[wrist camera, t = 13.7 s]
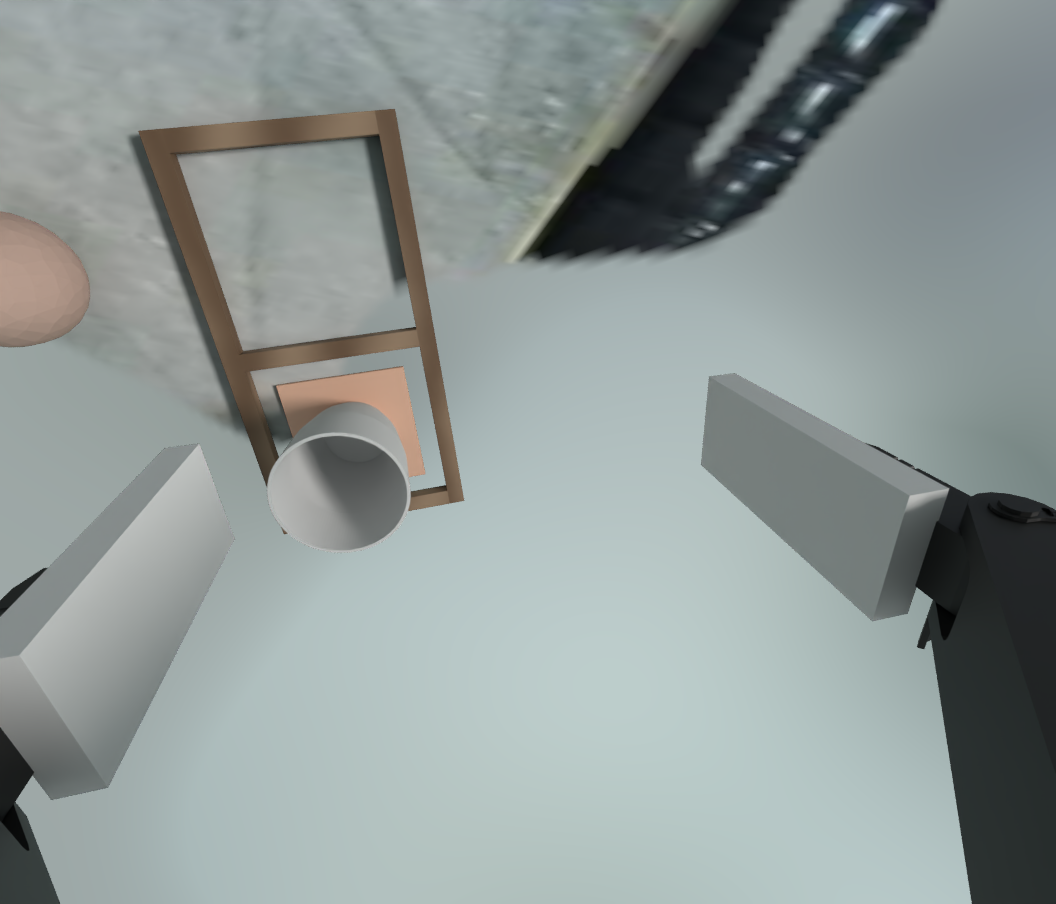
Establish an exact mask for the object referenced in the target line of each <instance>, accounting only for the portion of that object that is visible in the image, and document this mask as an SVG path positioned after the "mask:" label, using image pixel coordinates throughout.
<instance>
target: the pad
mask: <svg viewBox="0 0 1056 904" xmlns="http://www.w3.org/2000/svg"><path fill="white" fill-rule="evenodd" d="M276 387H277V390H278V393H279V396H280V399H281V402H282V406H283V409H284V412H285V415H286V418H287V421H288V424H289V427H290V430H291V434H292V437H293V438H294V436H295V435H296V434H297V432H298V431H299V430H300V429H301V428H302V427H303V426H305V425H306V424H307V423H308V422H309V421H311V420H312V419H313V418H314V417H316V416H317V415H318V414H319V413H321V412H322V411H324V410H325V409H327V408H329V407H331V406H334V405H338V404H342V403H347V402H363V403H366V404H369V405H371V406H373V407H375V408H377V409H378V410H379V411H380V412H382V413H383V414H384V415H385V416H386V417H387V418H388V419H389V420H390V421H391V422H392V424H393V425H394V427H395V428H396V430H397V433H398V435H399V438H400V440H401V443H402V445H403V448H404V450H405V453H406V458H407V465H408V473H409V477H412V476H418V475H423V474H425V469H424V464H423V459H422V455H421V450H420V445H419V440H418V435H417V430H416V426H415V421H414V416H413V411H412V406H411V402H410V397H409V393H408V387H407V383H406V378H405V373H404V368H403V366H401V367H393V368H387V369H381V370H373V371H367V372H360V373H353V374H347V375H340V376H333V377H327V378H320V379H313V380H307V381H300V382H293V383H287V384H280V385H277V386H276Z"/></svg>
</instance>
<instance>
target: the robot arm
mask: <svg viewBox="0 0 1056 904" xmlns="http://www.w3.org/2000/svg"><path fill="white" fill-rule="evenodd" d="M701 465H702V466H703V467H704V468H705V469H706V470H708V472H709V473H711V474H712V475H713V476H714V477H715V478H716V479H717V480H718V481H719V482H720V483H721V484H723V485H724V486H725V487H726V488H727V489H728V490H729V491H730V492H731V493H732V494H734V495H735V496H736V497H737V498H738V499H739V500H740V501H741V502H742V503H743V504H744V505H746V506H747V507H748V508H749V509H750V510H751V511H752V512H754V514H755V515H757V516H758V517H759V518H760V519H761V520H762V521H763V522H764V523H765V524H766V525H767V526H769V527H770V528H771V529H772V530H773V531H774V532H775V533H776V534H777V535H778V536H780V537H781V538H782V539H783V540H784V541H785V542H786V543H787V544H788V545H789V546H791V547H792V548H793V549H794V550H795V551H796V552H797V553H798V554H799V555H800V556H801V557H802V558H804V559H805V560H806V561H807V562H808V563H809V564H810V565H811V566H812V567H813V568H815V569H816V570H817V571H818V572H819V573H820V574H821V575H822V576H823V577H824V578H826V579H827V580H828V581H829V582H830V583H831V584H832V585H833V586H834V587H836V589H838V590H839V591H840V592H841V593H842V594H843V595H844V596H845V597H846V598H847V599H849V600H850V601H851V602H852V603H853V604H854V605H855V606H856V607H857V608H858V609H859V610H861V611H862V612H863V613H864V614H865V615H866V616H867V617H868V618H869V619H870V620H872V621H876V620H880V619H885V618H890V617H894V616H899V615H903V614H908V611H909V608H910V605H911V602H912V599H913V596H914V593H915V590H916V587H917V588H918V589H920V590H921V591H923V592H924V593H925V594H926V595H928V596H929V597H930V598H931V599H933V601H932V604H931V607H930V610H929V612H928V615H927V618H926V621H925V624H924V627H923V629H922V632H921V635H920V638H919V641H918V645H917V647H918V648H921V649H924V648H925V645H926V642H927V641H930V640H931V641H932V648H933V654H934V660H935V667H936V673H937V680H938V687H939V693H940V699H941V706H942V712H943V718H944V725H945V732H946V738H947V745H948V751H949V758H950V764H951V771H952V777H953V784H954V790H955V797H956V803H957V810H958V816H959V823H960V828H961V836H962V842H963V848H964V855H965V862H966V867H967V875H968V881H969V887H970V894H971V900H972V904H1056V510H1054V509H1053V508H1050V507H1049V506H1047V505H1045V504H1042V503H1040V502H1037V501H1034V500H1031V499H1028V498H1025V497H1020V496H1016V495H1011V494H1005V493H993V492H990V493H979V494H976V495H974V496H972V497H971V496H969V495H967V494H966V493H964V492H962V491H960V490H958V489H956V488H954V487H952V486H950V485H948V484H947V483H944V482H943V481H941V480H939V479H937V478H935V477H933V476H932V475H930V474H928V473H926V472H924V471H922V470H920V469H915V468H914V466H913V465H911V464H909V463H907V462H905V461H903V460H898V457H896V456H894V455H892V454H890V453H888V452H886V451H884V450H883V449H881V448H879V447H876V446H873V445H870V444H867V443H864V442H862V441H860V440H858V439H856V438H854V437H852V436H850V435H849V434H847V433H845V432H843V431H841V430H839V429H837V428H836V427H834V426H832V425H830V424H828V423H826V422H824V421H822V420H821V419H819V418H817V417H815V416H813V415H811V414H809V413H808V412H806V411H804V410H802V409H800V408H798V407H797V406H795V405H793V404H791V403H789V402H787V401H785V400H784V399H782V398H780V397H778V396H776V395H774V394H772V393H771V392H769V391H767V390H765V389H763V388H761V387H759V386H757V385H756V384H754V383H752V382H750V381H748V380H746V379H744V378H742V377H741V376H739V375H737V374H735V373H733V374H725V375H717V376H710V377H709V383H708V394H707V405H706V416H705V426H704V438H703V448H702V460H701ZM234 539H235V538H234V535H233V533H232V530H231V527H230V524H229V522H228V519H227V516H226V514H225V511H224V508H223V506H222V503H221V500H220V498H219V495H218V492H217V490H216V487H215V484H214V481H213V479H212V476H211V473H210V471H209V468H208V465H207V463H206V460H205V457H204V455H203V452H202V449H201V447H200V444H192V445H184V446H177V447H169V448H164V449H163V450H162V451H161V452H160V453H159V454H158V456H157V457H156V458H155V459H154V460H153V461H152V462H151V463H150V464H149V465H148V466H147V467H146V468H145V469H144V470H143V471H142V472H141V473H140V474H139V475H138V476H137V477H136V478H135V479H134V480H133V481H132V482H131V483H130V484H129V485H128V486H127V487H126V488H125V489H124V490H123V491H122V493H120V494H119V496H118V497H117V498H116V499H115V500H114V501H113V502H112V503H111V504H110V505H109V506H108V507H107V508H106V509H105V510H104V511H103V512H102V513H101V514H100V515H99V516H98V517H97V518H96V519H95V520H94V521H93V522H92V523H91V524H90V525H89V526H88V527H87V529H85V530H84V531H83V532H82V533H81V534H80V536H79V537H78V538H77V539H76V540H75V541H74V542H73V543H72V544H71V545H70V546H69V547H68V548H67V549H66V550H65V551H64V552H63V553H62V554H61V555H60V556H59V557H58V558H57V559H56V560H55V561H54V562H53V563H52V564H51V565H50V566H49V567H48V568H43V569H42V570H40V571H39V572H37V573H36V574H34V575H33V576H31V577H29V578H28V579H27V580H25V581H23V582H22V583H20V584H19V585H17V586H16V587H14V588H13V589H11V591H10V592H9V593H7V595H5V596H4V597H3V598H2V599H1V600H0V904H60V902H59V899H58V897H57V894H56V891H55V889H54V886H53V884H52V881H51V878H50V876H49V873H48V871H47V868H46V865H45V863H44V860H43V858H42V855H41V852H40V850H39V847H38V845H37V842H36V839H35V837H34V834H33V832H32V829H31V827H30V824H29V821H28V819H27V816H26V815H25V814H24V812H23V811H22V810H21V809H20V807H19V806H18V805H17V804H16V802H15V801H16V799H17V798H18V796H19V795H20V793H21V792H22V790H23V789H24V787H25V786H26V784H27V783H28V781H29V779H30V778H31V776H32V775H33V776H34V778H35V779H36V780H37V782H38V783H39V784H40V786H41V787H42V788H43V790H44V791H45V792H46V794H47V795H48V796H49V798H50V799H51V800H53V799H59V798H63V797H68V796H72V795H77V794H82V793H86V792H91V791H95V790H100V789H105V788H108V787H109V785H110V783H111V781H112V779H113V777H114V775H115V773H116V771H117V769H118V767H119V765H120V763H121V761H122V759H123V757H124V755H125V753H126V751H127V749H128V747H129V745H130V743H131V741H132V739H133V738H134V736H135V734H136V731H137V729H138V728H139V726H140V724H141V722H142V720H143V718H144V716H145V714H146V712H147V710H148V708H149V706H150V704H151V702H152V700H153V698H154V696H155V694H156V692H157V690H158V688H159V686H160V684H161V683H162V681H163V679H164V677H165V674H166V672H167V671H168V669H169V667H170V665H171V663H172V661H173V659H174V657H175V655H176V653H177V651H178V649H179V647H180V645H181V643H182V641H183V639H184V637H185V635H186V633H187V631H188V630H189V628H190V625H191V624H192V622H193V620H194V617H195V616H196V614H197V612H198V610H199V608H200V606H201V604H202V602H203V600H204V598H205V596H206V594H207V592H208V590H209V588H210V586H211V584H212V582H213V580H214V578H215V577H216V574H217V573H218V570H219V569H220V567H221V565H222V563H223V561H224V559H225V557H226V555H227V553H228V551H229V549H230V547H231V545H232V543H233V541H234Z"/></svg>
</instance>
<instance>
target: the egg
mask: <svg viewBox="0 0 1056 904" xmlns="http://www.w3.org/2000/svg"><path fill="white" fill-rule="evenodd" d="M89 300H90V286H89V280H88V276H87V273H86V271H85V269H84V267H83V265H82V263H81V260H80V259H79V258H78V257H77V255H76V254H75V253H74V252H73V250H72V249H71V248H70V247H69V246H68V245H67V244H66V243H64V242H63V241H62V240H61V239H60V238H59V237H58V236H56V235H55V234H54V233H53V232H51V231H49V230H48V229H46V228H44V227H43V226H41V225H39V224H38V223H36V222H33V221H31V220H28V219H25V218H23V217H20V216H17V215H14V214H11V213H6V212H0V346H2V347H25V346H32V345H36V344H41V343H45V342H48V341H51V340H54V339H57V338H59V337H61V336H63V335H64V334H66V333H68V332H69V331H70V330H72V329H73V328H74V327H75V326H76V325H77V324H78V323H79V322H80V321H81V320H82V318H83V316H84V314H85V312H86V310H87V308H88V306H89Z"/></svg>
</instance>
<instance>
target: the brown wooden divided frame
mask: <svg viewBox="0 0 1056 904" xmlns="http://www.w3.org/2000/svg"><path fill="white" fill-rule="evenodd" d="M138 132H139V134H140V137H141V140H142V143H143V145H144V148H145V151H146V154H147V157H148V159H149V162H150V165H151V168H152V170H153V173H154V176H155V179H156V181H157V184H158V187H159V190H160V193H161V195H162V198H163V201H164V204H165V206H166V209H167V212H168V215H169V217H170V220H171V223H172V226H173V229H174V231H175V234H176V237H177V240H178V242H179V245H180V248H181V251H182V253H183V256H184V259H185V262H186V265H187V267H188V270H189V273H190V276H191V278H192V281H193V284H194V287H195V289H196V292H197V295H198V298H199V301H200V303H201V306H202V309H203V312H204V314H205V317H206V320H207V323H208V325H209V328H210V331H211V334H212V337H213V339H214V342H215V345H216V348H217V350H218V353H219V356H220V359H221V361H222V364H223V367H224V370H225V373H226V375H227V378H228V381H229V384H230V386H231V389H232V392H233V395H234V397H235V400H236V403H237V406H238V409H239V411H240V414H241V417H242V420H243V422H244V425H245V428H246V431H247V433H248V436H249V439H250V442H251V445H252V447H253V450H254V453H255V455H256V458H257V461H258V464H259V467H260V469H261V472H262V475H263V477H264V480H265V483H266V486H267V484H268V479H269V475H270V472H271V470H272V468H273V466H274V464H275V463H276V461H277V460H278V458H279V456H278V453H277V450H276V447H275V444H274V441H273V438H272V435H271V432H270V429H269V427H268V424H267V421H266V418H265V415H264V412H263V409H262V406H261V403H260V400H259V397H258V394H257V391H256V388H255V385H254V382H253V380H252V377H251V374H250V371H255V370H261V369H268V368H275V367H282V366H289V365H296V364H303V363H309V362H316V361H323V360H330V359H337V358H344V357H351V356H358V355H364V354H371V353H378V352H385V351H392V350H398V349H406V348H412V347H419V346H420V350H421V356H422V361H423V366H424V371H425V377H426V382H427V387H428V392H429V397H430V403H431V408H432V413H433V418H434V424H435V429H436V434H437V439H438V445H439V450H440V455H441V460H442V466H443V470H444V476H445V481H446V485H444V486H439V487H433V488H428V489H423V490H417V491H411V498H410V505H409V509H408V511H411V510H417V509H422V508H427V507H433V506H438V505H444V504H449V503H454V502H459V501H464V498H463V492H462V486H461V480H460V474H459V470H458V463H457V458H456V452H455V446H454V441H453V435H452V429H451V423H450V418H449V412H448V407H447V401H446V395H445V390H444V385H443V379H442V373H441V367H440V361H439V356H438V350H437V344H436V339H435V333H434V327H433V322H432V316H431V310H430V305H429V299H428V294H427V288H426V282H425V276H424V271H423V265H422V259H421V254H420V248H419V242H418V237H417V231H416V226H415V220H414V214H413V209H412V203H411V197H410V192H409V186H408V180H407V175H406V169H405V163H404V158H403V152H402V146H401V141H400V135H399V129H398V124H397V118H396V112H395V109H388V110H377V111H365V112H353V113H342V114H330V115H318V116H307V117H295V118H284V119H272V120H260V121H249V122H237V123H225V124H214V125H202V126H190V127H179V128H167V129H156V130H144V131H138ZM372 136H380V141H381V146H382V152H383V157H384V162H385V167H386V173H387V178H388V183H389V188H390V193H391V199H392V204H393V209H394V214H395V220H396V225H397V230H398V235H399V241H400V246H401V251H402V256H403V261H404V267H405V272H406V277H407V282H408V288H409V293H410V298H411V303H412V308H413V314H414V319H415V324H416V327H413V328H406V329H398V330H391V331H384V332H377V333H370V334H363V335H356V336H348V337H341V338H334V339H327V340H320V341H313V342H306V343H299V344H292V345H285V346H277V347H270V348H263V349H256V350H249V351H243V350H242V347H241V344H240V341H239V338H238V335H237V332H236V330H235V327H234V324H233V321H232V318H231V315H230V312H229V309H228V306H227V303H226V300H225V297H224V294H223V291H222V288H221V285H220V282H219V280H218V277H217V274H216V271H215V268H214V265H213V262H212V259H211V256H210V253H209V250H208V247H207V244H206V241H205V238H204V235H203V232H202V230H201V227H200V224H199V221H198V218H197V215H196V212H195V209H194V206H193V203H192V200H191V197H190V194H189V191H188V188H187V185H186V183H185V180H184V177H183V174H182V171H181V168H180V165H179V162H178V159H177V156H176V155H177V154H187V153H198V152H209V151H220V150H231V149H242V148H253V147H263V146H274V145H285V144H296V143H307V142H318V141H328V140H339V139H350V138H361V137H372ZM281 528H282V527H281ZM282 530H283V533H284V534H288V533H287V532H286V531H285V530H284V529H283V528H282Z"/></svg>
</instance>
